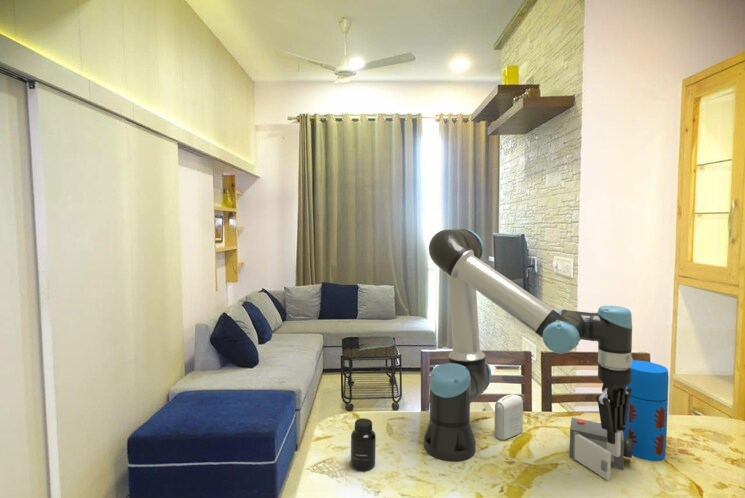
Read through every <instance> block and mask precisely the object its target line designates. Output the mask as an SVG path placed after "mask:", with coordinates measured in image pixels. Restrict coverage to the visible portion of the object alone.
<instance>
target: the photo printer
mask: <svg viewBox="0 0 745 498" xmlns="http://www.w3.org/2000/svg"><path fill="white" fill-rule="evenodd" d="M523 400H524V399H523V398H522V397H521V396H520V395H518V394H508V395H505V396H501V398H500V399H498V400H497V401H496V402H495V404H494V435H495V437H496V438H497V439H499V440H502V441H503V440H509V439H510V438H513V437H515V436H517V435H519V434H521V433H523V430H524V429H523V425H524V424H523V423H524V422H523V419H524V417H523V416H524V415H523V414H524V402H523Z"/></svg>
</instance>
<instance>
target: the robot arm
mask: <svg viewBox="0 0 745 498" xmlns="http://www.w3.org/2000/svg"><path fill="white" fill-rule="evenodd" d="M428 252H429V253H428V254H429V257H430V259H431V261H432V262H433V263H434V264H435V265H436V266H437V267H438V268H439V269H441V270H442V273H443V274H444V275H446V276H447V279H448V291H449V292H448V294H449V295H448V296H449V297H448V298H449V309H450V310H449V311H450V323H451V324H450V326H451V339H452V340H451V342H452V350H451V351H450V352H449V354H448V363H445V364H443V363H442V364H439V365H436V366H435V367H434V368H433V369H432V370H431V371H430V374H429V375H430V376H429V377H430V378H429V382H428V383H429V420H428V423H427V427H426V431H425V433H424V435H423V447H424V449H425V452H427V453H428V454H429V455H431V456H432V457H435V458H438V459H441V460H444V461H447V462H448V461H449V462H450V461H451V462H458V461H465V460H468V459H470V458H472V457H473V456H474V455H475V453H476V450H477V449H476V447H477V443H476V439H475V434H474V432H473V430H472V426H471V423H470V422H471V421H470V420H471V415H470V414H471V404H472V402H473V401H475V399H477V398H478V397H479V396H480V395H482V394H483V393H484V392H485V391H486V390H487V389H488V387H489V385H490V383H491V381H492V370H491V367H490V364H489V363H487V361H486V354H485V353H484V351H482V350H481V345H480V331H479V315H478V302H477V301H478V299H477V292H478V293H480V294H481V295H482V296H484V297H485V298H486V299H487V300H489V301H491V302H492V303H493V304H495V305H496V306H497V307H499V308H500V309H502V310H503V311H504V312H506V313H507V314H508V315H510V316H511V317H513V318H514V319H516V320H517V321H518V322H520V323H521V324H523V326H525V327H527V328H528V329H529V330H531V331H532V332H534V334H536V335H538V336H539V337H541V338H542V340H543V344H544V345H545V346H546V348H547V349H548V350H550V351H551V352H552V353H556V354H562V355H563V354H568V353H569V352H571V351H572V350H573V349H575V348H577V347H578V345H579V343H580V341H581V340H583V341H589V342H597V343H598V344H597V363H598V365H597V377H598V379H599V380H600V382H602V387H601V395H598V394H597V395H596V396H595V400H596V402H597V405H598V414H599V418H600V423H601V427H602V429H605V430H607V450H608V451H609V452H611V454H612V455H614V456H616V457H619V456H620V453H621V431H620V430H622V431H625V429H626V428H623V426H625V425H626V421H627V413H628V406H629V398H630V395H631V392H632V389H630V388H627V387H626V385H628V384H630V383H631V369H630V367H631V361H632V360H634V359H633V357H632V348H633V347H632V344H633V342H632V341H633V320H632V319H633V318H632V317H633V316H632V312H631V310H630V309H629V308H628V307H624V306H620V305H619V306H618V305H601V306H599V307H598V310H597V312H590V311H589V312H588V311H579V310H568V309H564V308H563V309H554V308H552V307H551V306H549V305H547V304H546V303H544V302H543V301H542V300H540V299H538V298H537V297H536V296H535V295H532V294H531V293H530V292H528V291H527V290H525V289H524V288H523V287H521V286H520V285H518V284H516V282H514V281H512V280H511V279H509V278H508V277H506V276H505V275H503V274H501V272H499V271H498V270H496V269H494V268H493V267H491V266H490V265H489V264H487V263H485V262H484V261H483V260H481V258H482V256H483V253H484V243H483V241H482V239H481V237H480V236H479V235H478V234H477V233H476V232H474V231H472V230H470V229H466V228H457V229H456V228H455V229H448V228H447V229H443V230H440V231H438V232H436V233H435V234H434V235H433V236H432V237H431V239H430V242H429V245H428Z"/></svg>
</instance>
